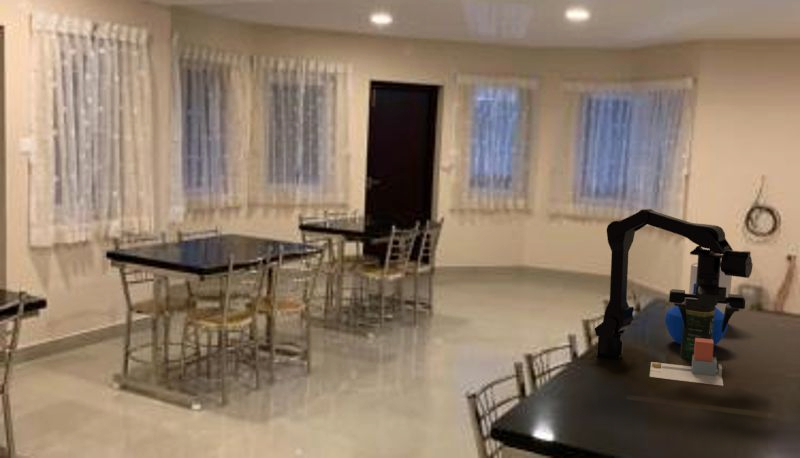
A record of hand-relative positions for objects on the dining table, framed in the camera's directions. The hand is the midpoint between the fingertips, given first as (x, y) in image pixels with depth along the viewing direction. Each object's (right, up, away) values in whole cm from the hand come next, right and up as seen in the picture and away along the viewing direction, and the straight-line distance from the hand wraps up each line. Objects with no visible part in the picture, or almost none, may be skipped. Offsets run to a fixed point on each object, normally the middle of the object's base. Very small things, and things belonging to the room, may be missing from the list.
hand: (704, 330), depth 211 cm
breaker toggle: (0, -11, +1) cm, 11 cm away
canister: (+27, -6, +67) cm, 73 cm away
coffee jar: (+4, -11, +17) cm, 21 cm away
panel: (-5, -12, -1) cm, 13 cm away
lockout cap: (0, -8, +1) cm, 8 cm away
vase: (+10, -9, +34) cm, 37 cm away
